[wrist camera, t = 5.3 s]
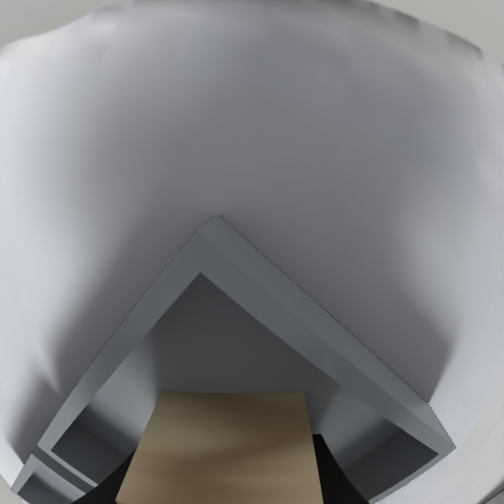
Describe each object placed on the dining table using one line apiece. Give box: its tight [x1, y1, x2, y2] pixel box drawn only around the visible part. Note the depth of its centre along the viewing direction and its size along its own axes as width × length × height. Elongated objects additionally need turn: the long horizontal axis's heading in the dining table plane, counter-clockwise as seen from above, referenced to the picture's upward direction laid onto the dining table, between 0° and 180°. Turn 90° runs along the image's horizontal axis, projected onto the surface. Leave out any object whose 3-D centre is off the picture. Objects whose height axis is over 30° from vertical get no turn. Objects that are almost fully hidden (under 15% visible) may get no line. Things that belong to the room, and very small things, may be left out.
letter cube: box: [116, 391, 323, 504], centre depth 8 cm, size 5×5×5 cm
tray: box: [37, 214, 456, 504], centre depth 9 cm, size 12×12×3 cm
